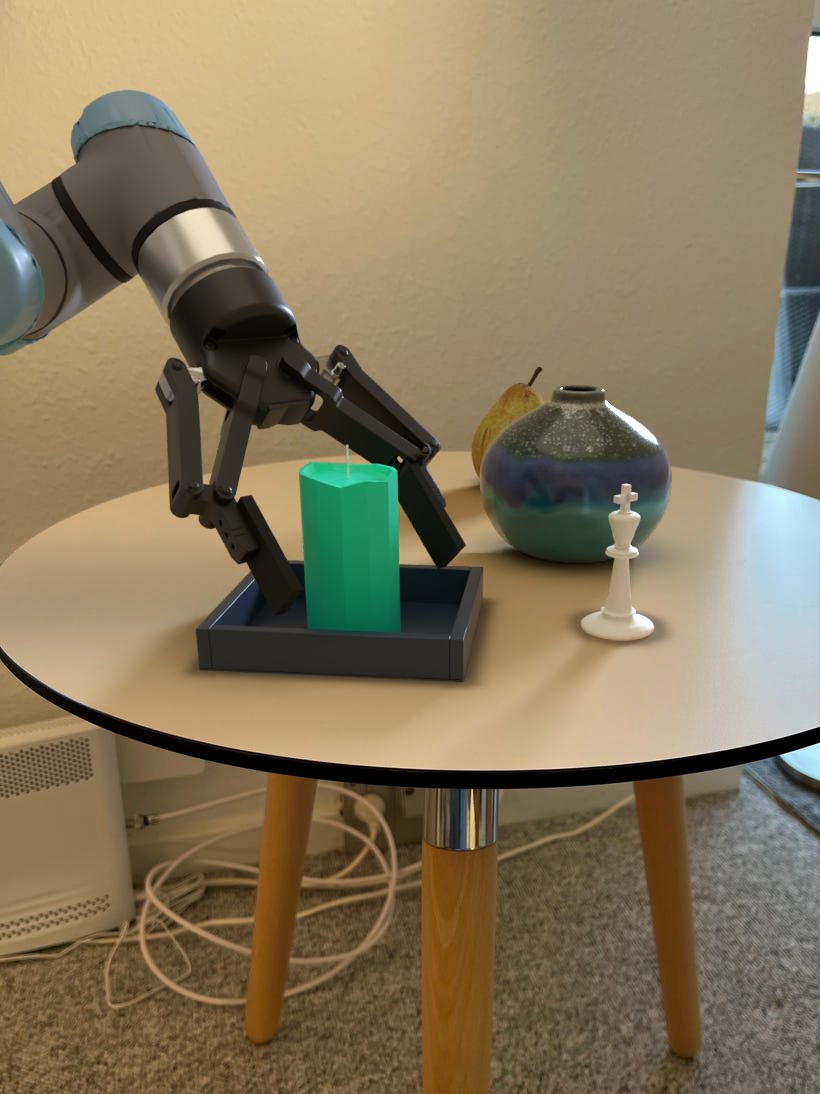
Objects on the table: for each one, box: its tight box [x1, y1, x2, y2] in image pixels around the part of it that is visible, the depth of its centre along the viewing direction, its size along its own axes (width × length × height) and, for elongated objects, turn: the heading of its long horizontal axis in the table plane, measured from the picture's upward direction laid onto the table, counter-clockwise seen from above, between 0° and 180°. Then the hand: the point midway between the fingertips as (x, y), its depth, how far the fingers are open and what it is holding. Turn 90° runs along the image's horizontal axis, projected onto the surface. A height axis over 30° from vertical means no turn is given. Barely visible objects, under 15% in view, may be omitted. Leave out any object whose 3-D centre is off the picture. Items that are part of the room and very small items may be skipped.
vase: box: [478, 384, 673, 564], centre depth 81 cm, size 15×15×13 cm
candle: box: [298, 445, 401, 633], centre depth 63 cm, size 6×6×12 cm
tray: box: [195, 559, 484, 683], centre depth 65 cm, size 16×14×3 cm
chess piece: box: [580, 484, 655, 642], centre depth 65 cm, size 5×5×10 cm
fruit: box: [471, 366, 546, 480], centre depth 103 cm, size 9×9×12 cm
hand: (376, 579), depth 62 cm, fingers open, 12 cm apart
